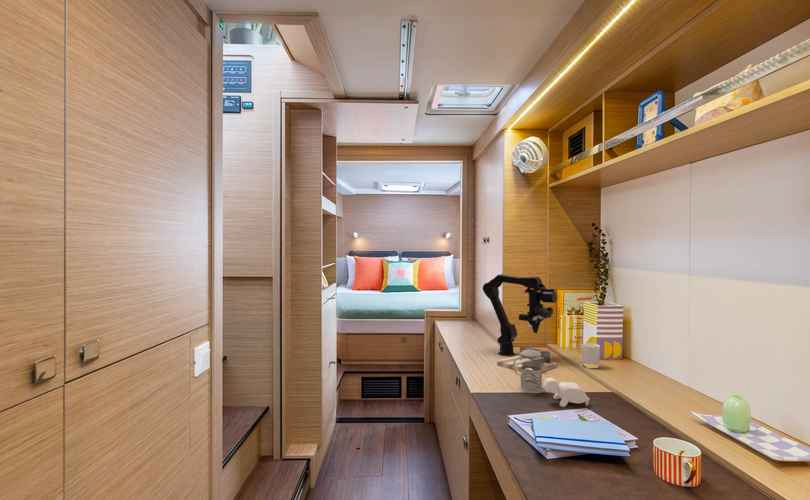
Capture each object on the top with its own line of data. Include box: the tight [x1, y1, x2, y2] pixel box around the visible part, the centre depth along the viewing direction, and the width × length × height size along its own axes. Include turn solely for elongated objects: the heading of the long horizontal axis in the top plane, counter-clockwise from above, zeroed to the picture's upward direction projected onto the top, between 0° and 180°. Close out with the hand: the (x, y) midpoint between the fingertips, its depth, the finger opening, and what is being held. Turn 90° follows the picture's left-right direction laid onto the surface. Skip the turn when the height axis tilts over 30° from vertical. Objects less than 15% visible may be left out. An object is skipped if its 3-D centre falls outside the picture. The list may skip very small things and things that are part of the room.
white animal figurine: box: [543, 377, 590, 408], centre depth 138 cm, size 9×8×15 cm
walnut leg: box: [519, 346, 551, 362], centre depth 188 cm, size 16×4×4 cm, turn 34°
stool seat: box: [496, 354, 558, 373], centre depth 184 cm, size 20×18×6 cm
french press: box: [513, 324, 546, 394], centre depth 153 cm, size 10×12×25 cm
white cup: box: [580, 342, 601, 365], centre depth 181 cm, size 8×8×10 cm
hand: (535, 332), depth 196 cm, fingers closed
